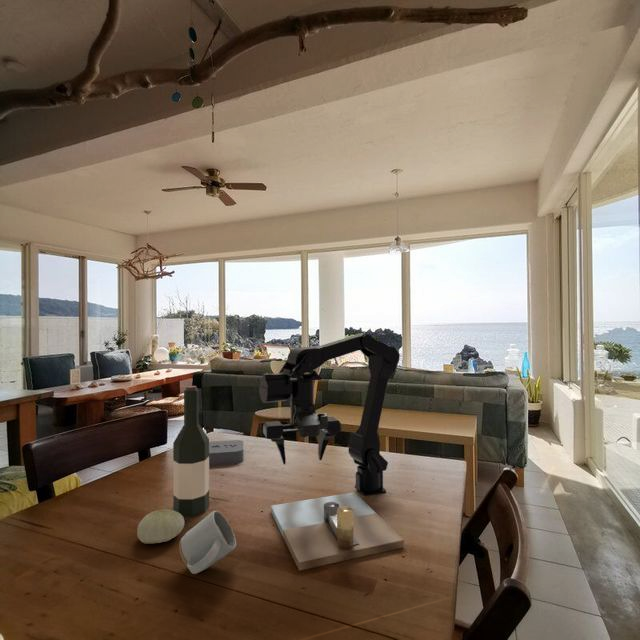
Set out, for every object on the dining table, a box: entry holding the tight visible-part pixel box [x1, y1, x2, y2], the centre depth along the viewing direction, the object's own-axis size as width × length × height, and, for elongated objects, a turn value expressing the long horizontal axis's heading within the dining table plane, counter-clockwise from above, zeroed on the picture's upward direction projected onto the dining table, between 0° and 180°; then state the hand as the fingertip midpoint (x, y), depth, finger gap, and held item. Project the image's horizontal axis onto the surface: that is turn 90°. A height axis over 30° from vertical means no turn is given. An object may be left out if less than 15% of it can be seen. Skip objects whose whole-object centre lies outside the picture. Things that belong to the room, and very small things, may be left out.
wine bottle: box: [172, 385, 210, 518], centre depth 97 cm, size 8×8×30 cm
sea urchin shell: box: [136, 508, 186, 545], centre depth 84 cm, size 9×8×8 cm
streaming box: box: [209, 439, 244, 467], centre depth 132 cm, size 13×13×4 cm
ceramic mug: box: [178, 510, 237, 575], centre depth 72 cm, size 11×8×8 cm
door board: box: [270, 491, 405, 571], centre depth 87 cm, size 22×24×2 cm
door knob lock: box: [324, 502, 353, 548], centre depth 82 cm, size 13×3×6 cm, turn 14°
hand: (302, 462), depth 98 cm, fingers open, 9 cm apart
